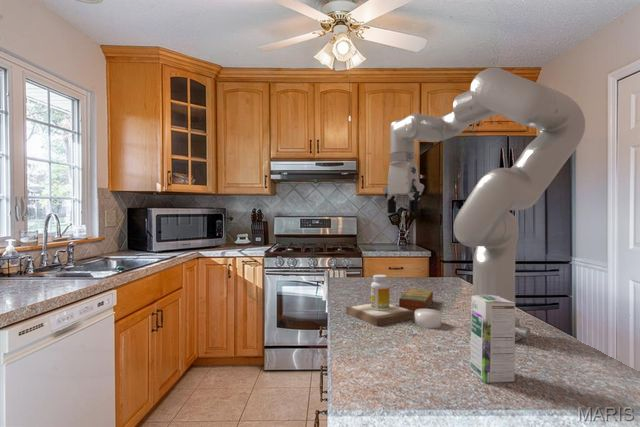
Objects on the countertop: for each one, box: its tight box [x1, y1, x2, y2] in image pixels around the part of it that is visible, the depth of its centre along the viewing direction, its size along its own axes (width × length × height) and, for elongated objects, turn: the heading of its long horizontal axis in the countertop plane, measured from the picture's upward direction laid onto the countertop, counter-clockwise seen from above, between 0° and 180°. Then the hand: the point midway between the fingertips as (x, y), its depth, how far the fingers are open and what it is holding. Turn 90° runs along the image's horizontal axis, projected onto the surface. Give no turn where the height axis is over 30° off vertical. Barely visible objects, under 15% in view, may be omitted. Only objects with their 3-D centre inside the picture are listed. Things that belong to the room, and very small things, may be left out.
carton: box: [398, 288, 434, 313], centre depth 118 cm, size 8×16×4 cm, turn 155°
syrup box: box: [470, 295, 516, 384], centre depth 67 cm, size 6×6×14 cm
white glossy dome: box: [414, 308, 443, 329], centre depth 98 cm, size 7×7×4 cm
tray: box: [345, 302, 415, 327], centre depth 106 cm, size 14×14×2 cm
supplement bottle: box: [370, 274, 390, 311], centre depth 106 cm, size 5×5×10 cm
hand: (402, 213), depth 115 cm, fingers open, 9 cm apart
